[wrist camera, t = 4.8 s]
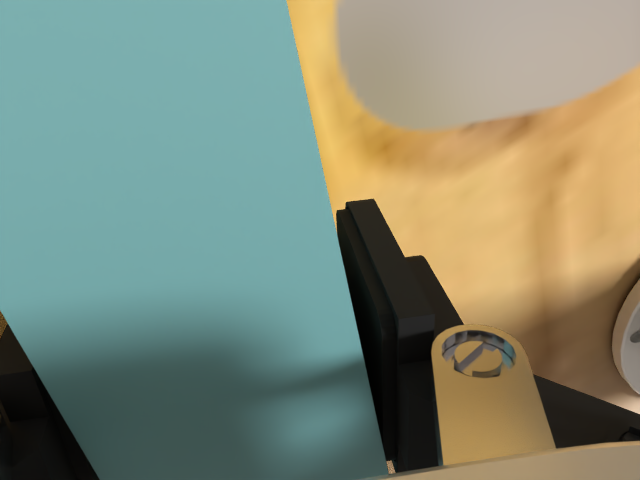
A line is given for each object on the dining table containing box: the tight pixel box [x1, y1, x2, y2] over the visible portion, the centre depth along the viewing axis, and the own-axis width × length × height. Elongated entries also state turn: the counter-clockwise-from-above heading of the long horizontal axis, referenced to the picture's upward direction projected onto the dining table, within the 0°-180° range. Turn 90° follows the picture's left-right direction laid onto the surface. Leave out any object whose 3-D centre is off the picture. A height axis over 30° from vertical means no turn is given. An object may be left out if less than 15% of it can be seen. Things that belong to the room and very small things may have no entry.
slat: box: [0, 0, 389, 480], centre depth 11 cm, size 4×22×5 cm, turn 12°
